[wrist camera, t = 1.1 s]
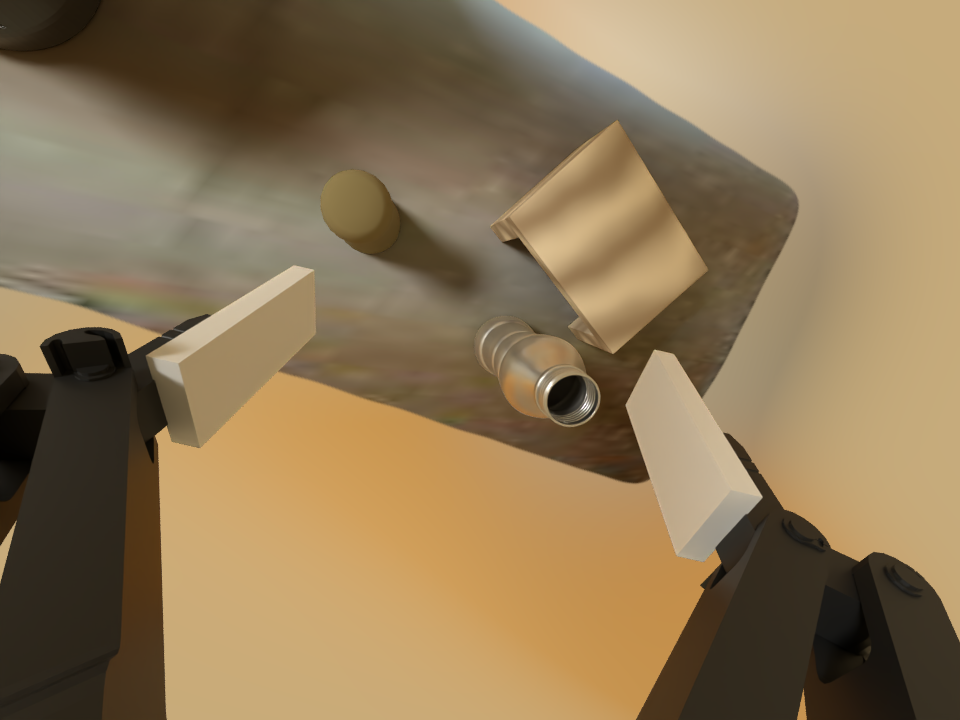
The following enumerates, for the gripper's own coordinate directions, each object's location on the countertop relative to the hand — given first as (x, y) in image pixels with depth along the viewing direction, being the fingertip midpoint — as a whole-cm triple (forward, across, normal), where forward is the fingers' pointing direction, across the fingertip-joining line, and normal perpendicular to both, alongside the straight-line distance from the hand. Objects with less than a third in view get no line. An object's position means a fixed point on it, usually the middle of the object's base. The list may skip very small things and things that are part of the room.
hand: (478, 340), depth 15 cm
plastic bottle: (+25, +2, -14) cm, 28 cm away
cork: (+25, -13, -4) cm, 29 cm away
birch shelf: (+30, +8, -3) cm, 31 cm away
